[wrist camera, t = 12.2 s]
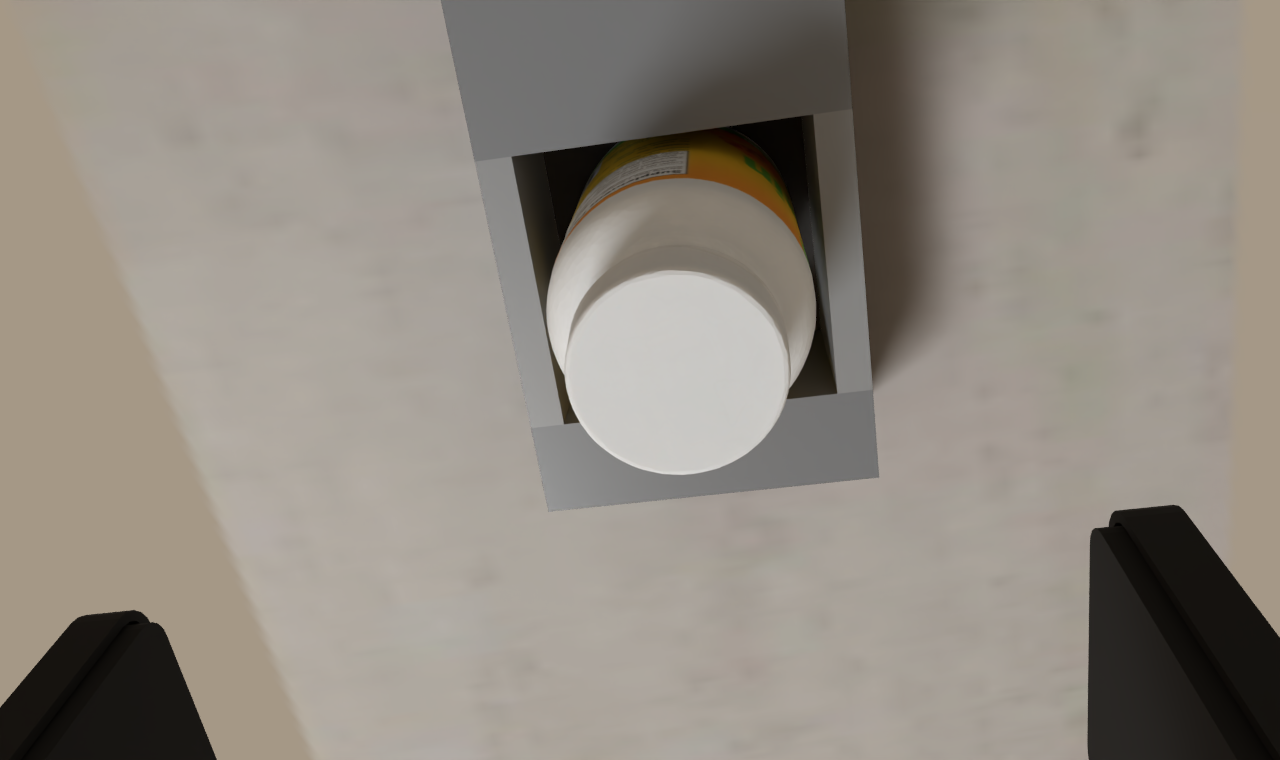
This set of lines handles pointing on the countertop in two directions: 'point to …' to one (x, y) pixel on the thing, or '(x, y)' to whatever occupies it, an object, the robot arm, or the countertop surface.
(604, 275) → the supplement bottle
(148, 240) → the countertop surface
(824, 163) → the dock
